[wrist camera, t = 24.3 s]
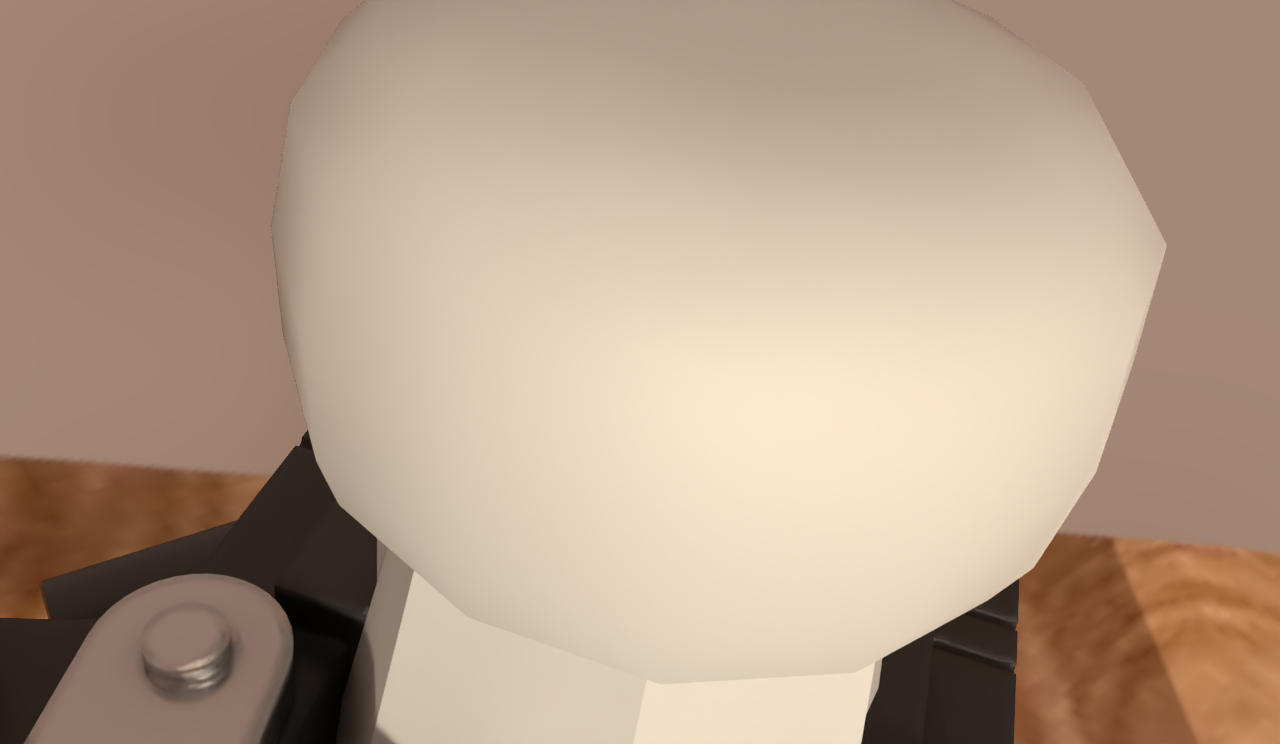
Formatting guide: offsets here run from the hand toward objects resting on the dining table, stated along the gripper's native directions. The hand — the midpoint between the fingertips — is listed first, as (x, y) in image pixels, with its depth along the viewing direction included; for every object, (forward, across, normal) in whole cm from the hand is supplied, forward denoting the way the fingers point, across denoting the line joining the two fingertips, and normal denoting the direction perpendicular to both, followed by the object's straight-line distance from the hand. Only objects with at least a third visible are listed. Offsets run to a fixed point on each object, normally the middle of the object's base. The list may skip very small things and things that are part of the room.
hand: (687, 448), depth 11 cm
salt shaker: (-3, 0, +8) cm, 9 cm away
